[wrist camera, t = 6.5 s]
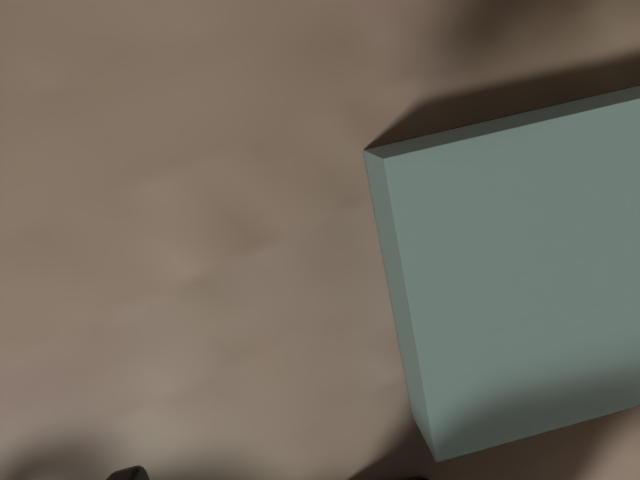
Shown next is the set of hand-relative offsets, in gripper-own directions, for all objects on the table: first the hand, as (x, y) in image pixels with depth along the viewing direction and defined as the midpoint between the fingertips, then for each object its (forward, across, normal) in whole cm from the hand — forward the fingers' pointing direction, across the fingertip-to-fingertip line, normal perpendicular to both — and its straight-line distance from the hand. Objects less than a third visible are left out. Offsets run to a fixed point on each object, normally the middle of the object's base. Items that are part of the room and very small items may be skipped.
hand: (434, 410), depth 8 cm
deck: (+12, -13, +4) cm, 18 cm away
